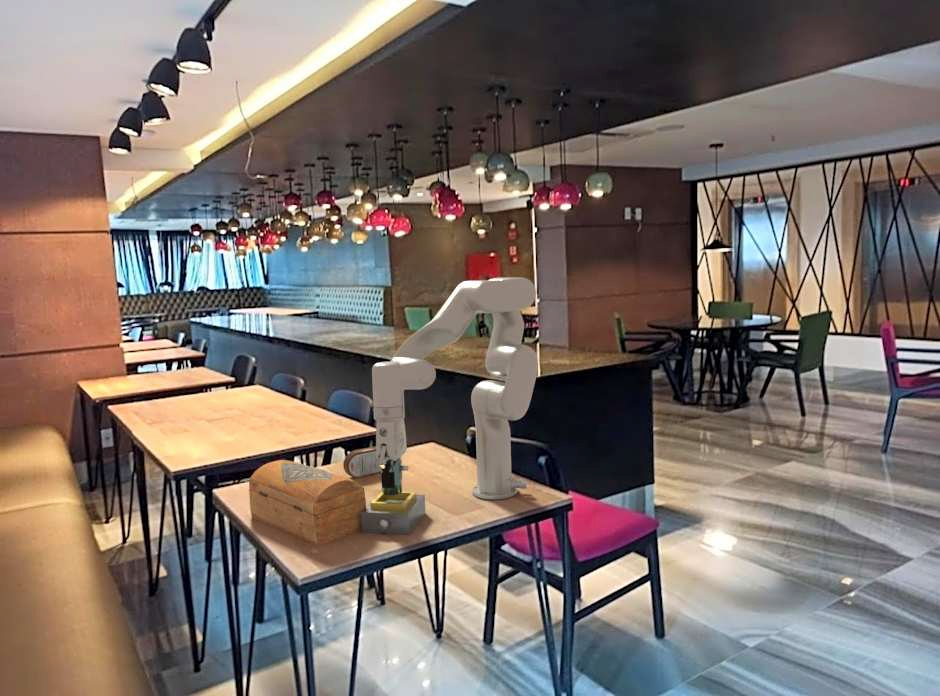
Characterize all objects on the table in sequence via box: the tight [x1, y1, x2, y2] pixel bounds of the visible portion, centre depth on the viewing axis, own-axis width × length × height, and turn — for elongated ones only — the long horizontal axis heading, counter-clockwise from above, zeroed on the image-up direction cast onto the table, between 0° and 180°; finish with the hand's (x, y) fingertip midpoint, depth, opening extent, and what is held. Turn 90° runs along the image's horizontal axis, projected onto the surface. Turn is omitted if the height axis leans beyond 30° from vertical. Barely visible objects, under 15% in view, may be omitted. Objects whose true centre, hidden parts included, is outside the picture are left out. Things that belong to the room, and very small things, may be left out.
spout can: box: [381, 458, 409, 495], centre depth 171 cm, size 7×5×8 cm
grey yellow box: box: [361, 491, 426, 535], centre depth 171 cm, size 12×16×6 cm
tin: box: [343, 445, 389, 479], centre depth 212 cm, size 15×3×8 cm, turn 125°
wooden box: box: [248, 459, 367, 547], centre depth 174 cm, size 30×16×14 cm, turn 46°
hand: (392, 483), depth 171 cm, fingers closed on spout can, 5 cm apart
